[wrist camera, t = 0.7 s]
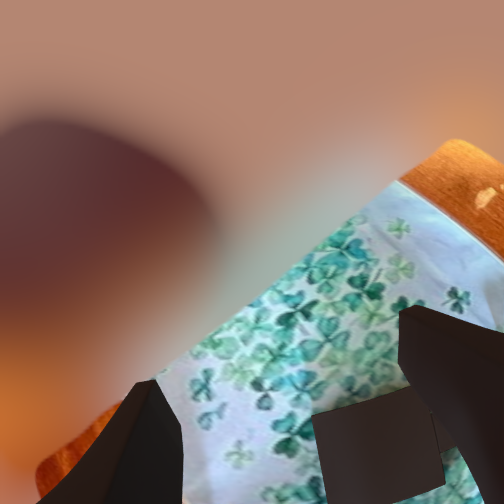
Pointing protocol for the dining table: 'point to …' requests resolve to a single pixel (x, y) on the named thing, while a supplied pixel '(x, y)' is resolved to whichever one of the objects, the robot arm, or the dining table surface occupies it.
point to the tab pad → (380, 449)
